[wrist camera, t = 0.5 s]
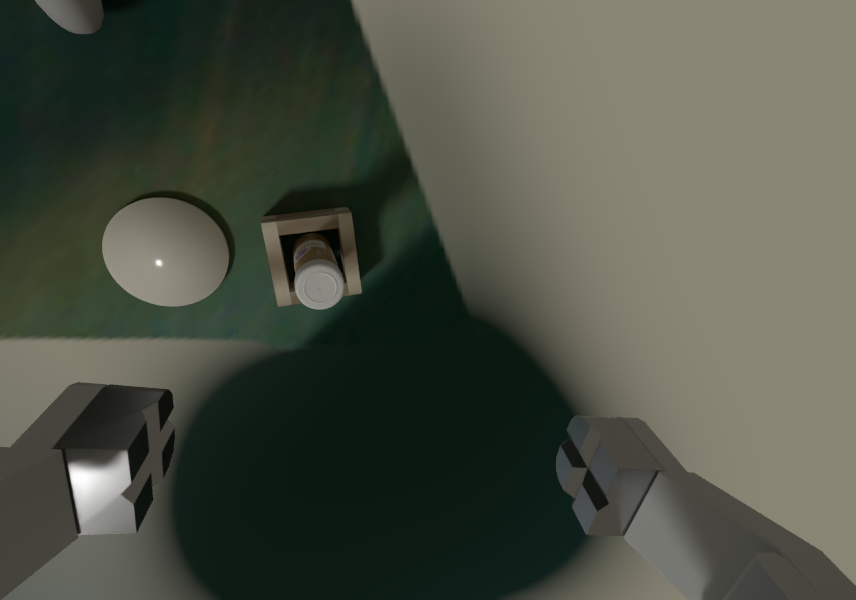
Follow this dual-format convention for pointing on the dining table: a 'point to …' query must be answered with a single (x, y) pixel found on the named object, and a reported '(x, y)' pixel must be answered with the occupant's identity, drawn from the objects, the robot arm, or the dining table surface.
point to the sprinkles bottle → (316, 272)
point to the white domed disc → (165, 251)
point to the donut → (75, 14)
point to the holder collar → (307, 223)
